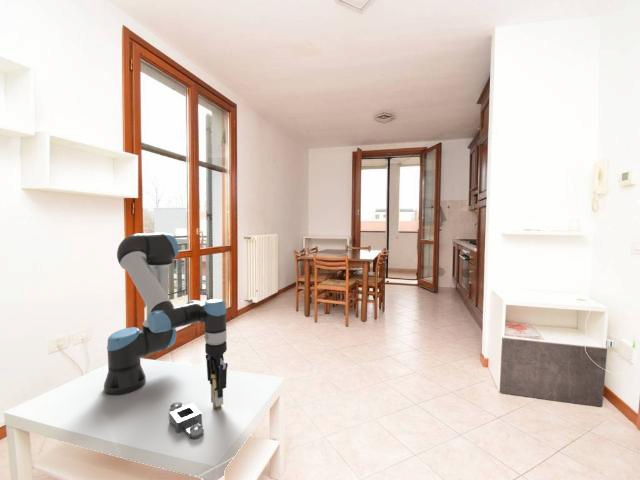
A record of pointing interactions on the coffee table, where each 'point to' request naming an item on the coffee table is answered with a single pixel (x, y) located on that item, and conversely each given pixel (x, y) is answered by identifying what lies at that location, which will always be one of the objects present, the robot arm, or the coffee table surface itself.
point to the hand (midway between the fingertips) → (217, 402)
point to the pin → (214, 391)
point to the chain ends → (186, 419)
